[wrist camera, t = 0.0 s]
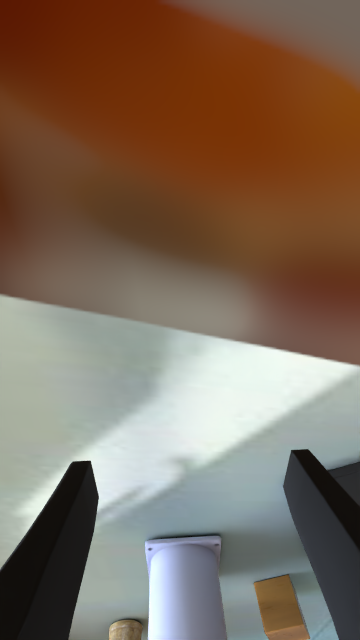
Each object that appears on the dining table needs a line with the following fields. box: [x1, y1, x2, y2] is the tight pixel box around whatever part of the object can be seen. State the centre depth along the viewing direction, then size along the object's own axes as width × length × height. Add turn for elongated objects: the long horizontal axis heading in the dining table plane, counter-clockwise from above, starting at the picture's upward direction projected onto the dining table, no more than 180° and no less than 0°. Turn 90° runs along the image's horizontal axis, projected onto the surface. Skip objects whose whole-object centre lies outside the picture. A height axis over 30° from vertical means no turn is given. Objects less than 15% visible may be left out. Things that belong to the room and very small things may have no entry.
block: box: [254, 575, 310, 640], centre depth 34 cm, size 4×4×4 cm
